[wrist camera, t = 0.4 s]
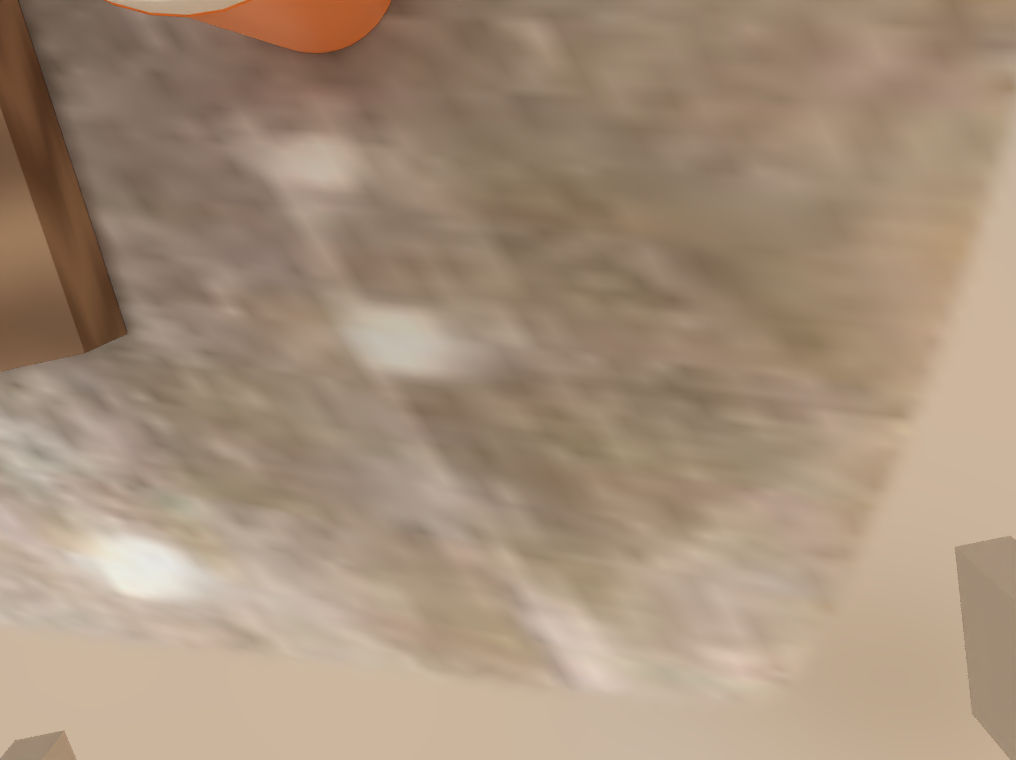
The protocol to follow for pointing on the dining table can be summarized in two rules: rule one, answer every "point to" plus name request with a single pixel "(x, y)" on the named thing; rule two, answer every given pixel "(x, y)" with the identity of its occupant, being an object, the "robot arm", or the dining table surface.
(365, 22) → the shaker bottle
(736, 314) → the dining table surface
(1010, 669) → the robot arm
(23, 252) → the socket block
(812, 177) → the dining table surface
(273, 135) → the dining table surface
